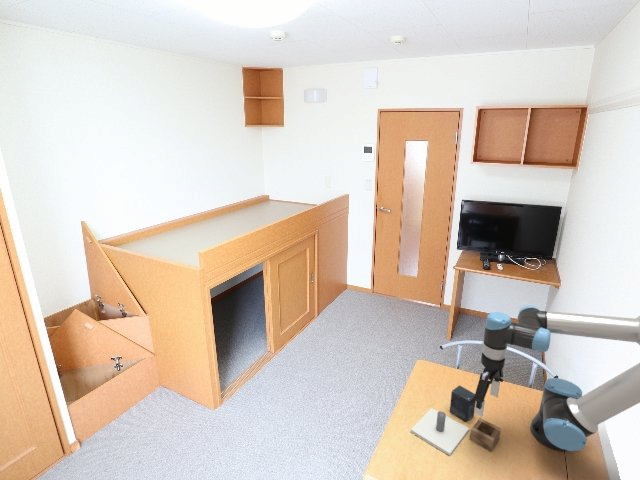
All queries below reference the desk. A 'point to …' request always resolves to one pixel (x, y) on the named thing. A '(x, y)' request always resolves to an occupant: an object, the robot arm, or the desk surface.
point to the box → (462, 403)
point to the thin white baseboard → (440, 431)
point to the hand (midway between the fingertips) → (486, 404)
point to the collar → (485, 434)
